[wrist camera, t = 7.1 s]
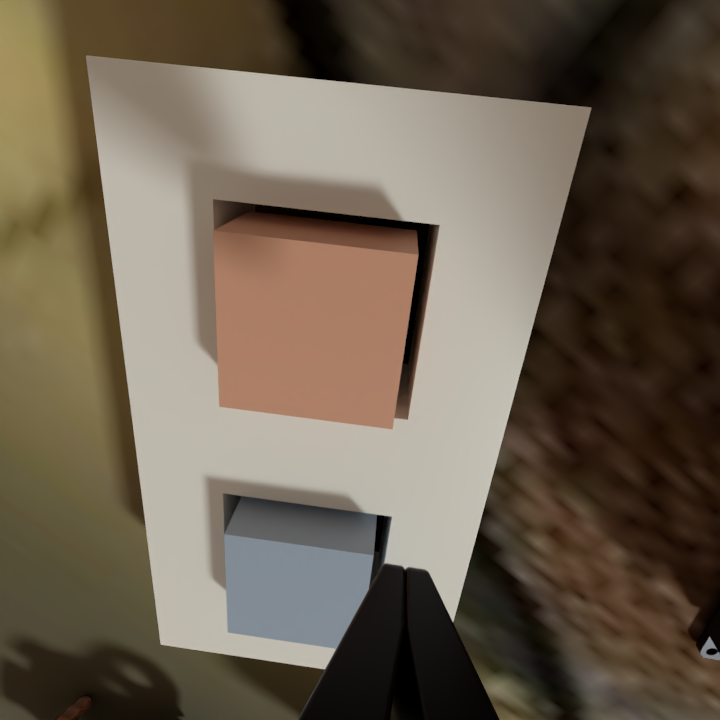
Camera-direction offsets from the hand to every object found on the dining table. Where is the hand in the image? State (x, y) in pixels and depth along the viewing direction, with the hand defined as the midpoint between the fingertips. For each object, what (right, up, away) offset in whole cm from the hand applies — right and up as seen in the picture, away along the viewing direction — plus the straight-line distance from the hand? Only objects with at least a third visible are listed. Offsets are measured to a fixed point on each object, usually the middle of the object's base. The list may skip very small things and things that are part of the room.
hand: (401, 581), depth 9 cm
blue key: (-3, -3, +11) cm, 12 cm away
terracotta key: (-2, +6, +6) cm, 9 cm away
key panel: (-2, +3, +11) cm, 11 cm away
